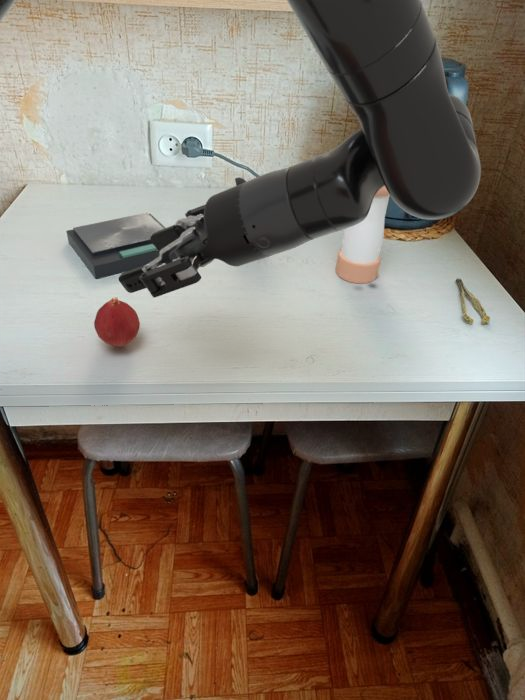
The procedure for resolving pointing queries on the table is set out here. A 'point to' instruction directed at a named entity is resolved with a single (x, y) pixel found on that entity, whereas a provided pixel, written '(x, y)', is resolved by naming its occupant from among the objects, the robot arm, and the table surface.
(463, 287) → the tongs
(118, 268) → the scale
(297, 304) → the table surface
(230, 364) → the table surface
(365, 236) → the pepper shaker
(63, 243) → the table surface
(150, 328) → the table surface
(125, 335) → the onion
